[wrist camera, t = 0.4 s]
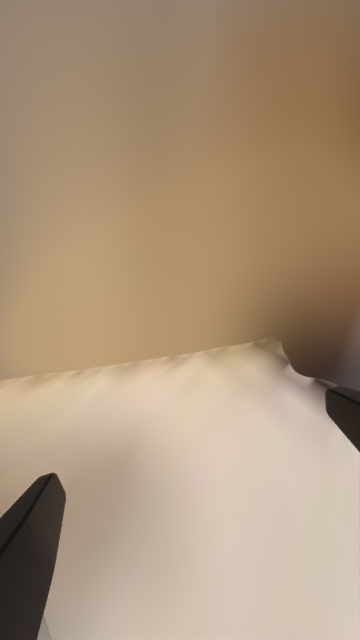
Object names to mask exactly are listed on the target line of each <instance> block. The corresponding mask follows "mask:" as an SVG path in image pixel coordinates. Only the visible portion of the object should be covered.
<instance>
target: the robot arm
mask: <svg viewBox="0 0 360 640" xmlns="http://www.w3.org/2000/svg"><path fill="white" fill-rule="evenodd" d="M325 401H326V411H327V413H328V415H329V417H330V418H331V419H332V420H333V421H334V423H335V424H336V425H337V426H338V427H339V428H340V430H341V431H342V432H343V433H344V434H345V436H346V437H347V438H348V439H349V440H350V441H351V443H352V444H353V445H354V446H355V447H356V448H357V450H358V451H359V452H360V391H358V390H354V389H350V388H346V387H342V386H334V387H331V388H328V389H326V391H325ZM65 502H66V494H65V490H64V488H63V486H62V484H61V482H60V480H59V478H58V476H57V474H55V473H50V474H46V475H43V476H41V477H39V478H38V479H37V480H36V481H35V482H34V483H33V484H32V485H31V486H30V487H29V488H28V489H27V490H26V491H25V493H24V494H23V495H22V496H21V497H20V498H19V499H18V500H17V501H16V502H15V503H14V504H13V505H12V506H11V507H10V508H9V509H8V511H7V512H6V513H5V514H4V515H3V516H2V517H1V518H0V640H37V638H38V634H39V630H40V626H41V622H42V618H43V614H44V609H45V605H46V601H47V597H48V593H49V589H50V585H51V581H52V577H53V572H54V568H55V562H56V557H57V551H58V545H59V539H60V533H61V526H62V520H63V514H64V508H65Z"/></svg>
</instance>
